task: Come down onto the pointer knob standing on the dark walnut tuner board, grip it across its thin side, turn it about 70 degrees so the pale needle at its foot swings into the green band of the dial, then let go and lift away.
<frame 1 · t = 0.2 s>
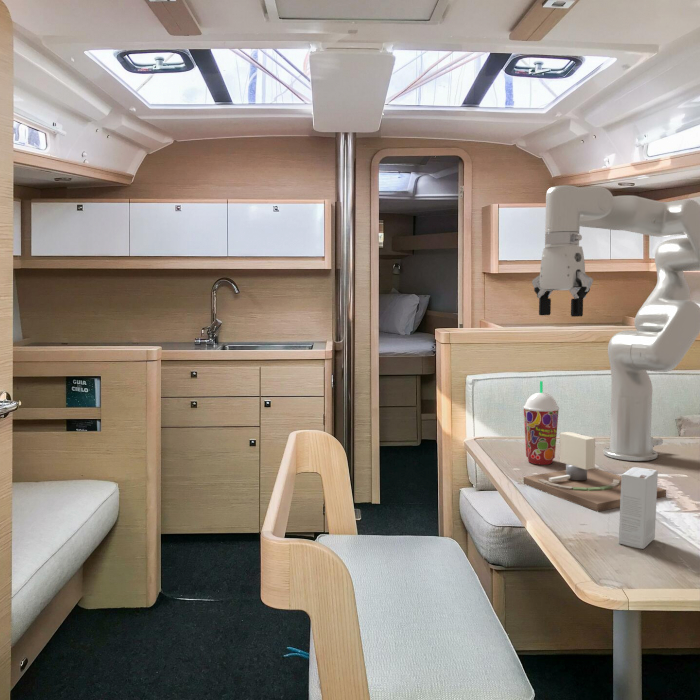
hand: (560, 315, 157), 36 cm above the table, tool pointing down, fingers open, 9 cm apart
tuner board: (592, 490, 143), on the table
smoothie: (540, 462, 166), on the table
skincare box: (637, 543, 113), on the table
pointer knob: (567, 458, 144), point 6 cm above the table, hinge at 0.0°
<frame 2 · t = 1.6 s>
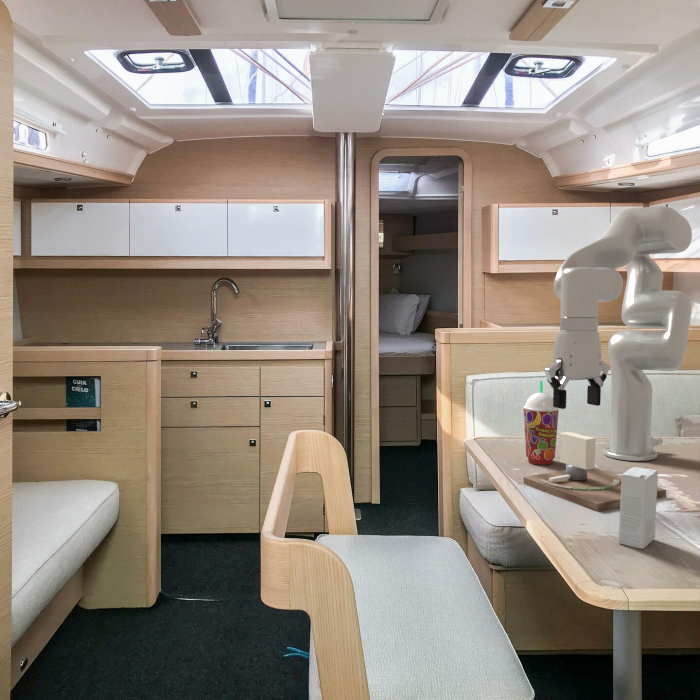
hand: (576, 406, 144), 17 cm above the table, tool pointing down, fingers open, 9 cm apart
nothing on the table moved.
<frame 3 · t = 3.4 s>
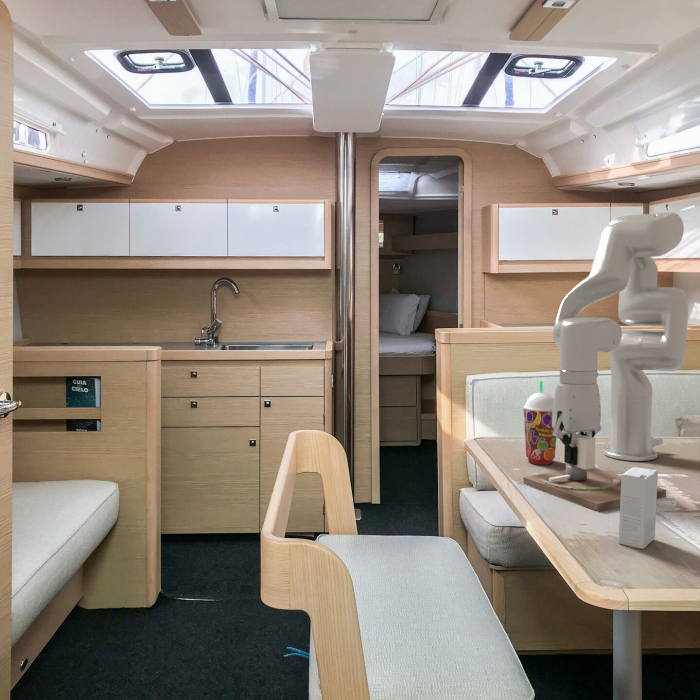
hand: (576, 462, 145), 5 cm above the table, tool pointing down, fingers closed on pointer knob, 2 cm apart
pointer knob: (567, 458, 144), point 6 cm above the table, hinge at 0.0°, touching gripper
everything else where it was.
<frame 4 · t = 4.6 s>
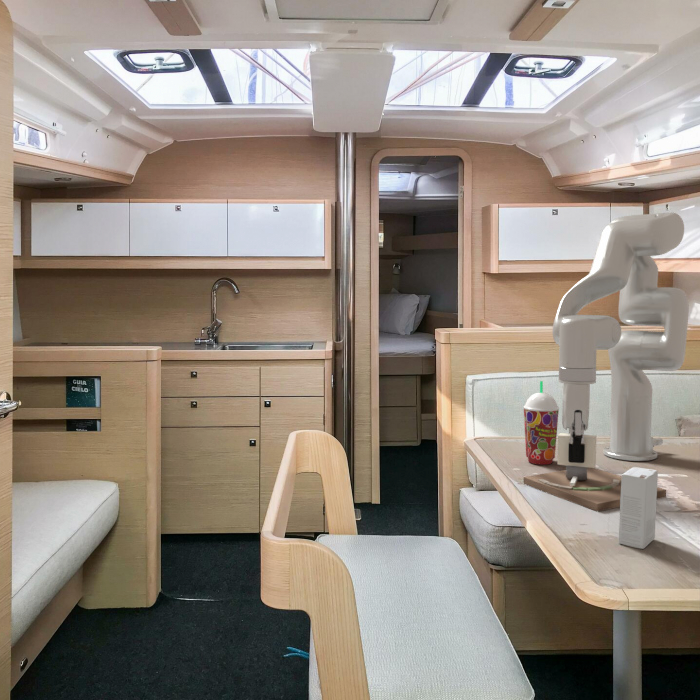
hand: (575, 459, 145), 6 cm above the table, tool pointing down, fingers closed on pointer knob, 3 cm apart
pointer knob: (575, 459, 143), point 6 cm above the table, hinge at 38.9°, touching gripper
everything else where it was.
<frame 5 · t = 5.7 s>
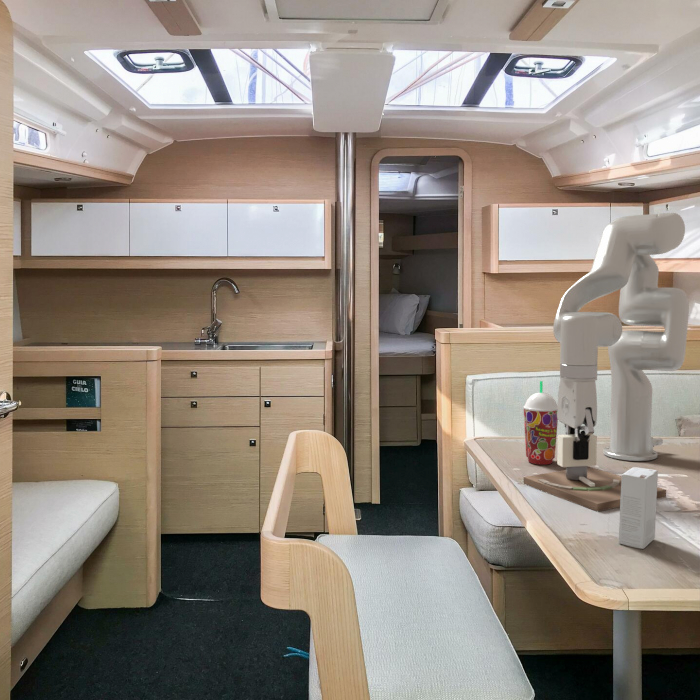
hand: (577, 456, 145), 6 cm above the table, tool pointing down, fingers closed on pointer knob, 2 cm apart
pointer knob: (582, 459, 143), point 6 cm above the table, hinge at 70.5°, touching gripper
everything else where it was.
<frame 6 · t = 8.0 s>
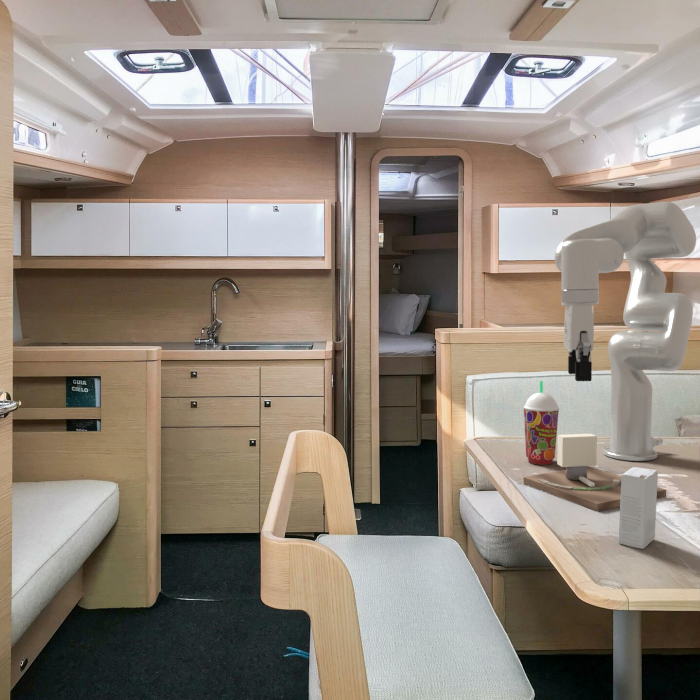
hand: (579, 377, 146), 23 cm above the table, tool pointing down, fingers open, 9 cm apart
pointer knob: (582, 459, 143), point 6 cm above the table, hinge at 70.3°
everything else where it was.
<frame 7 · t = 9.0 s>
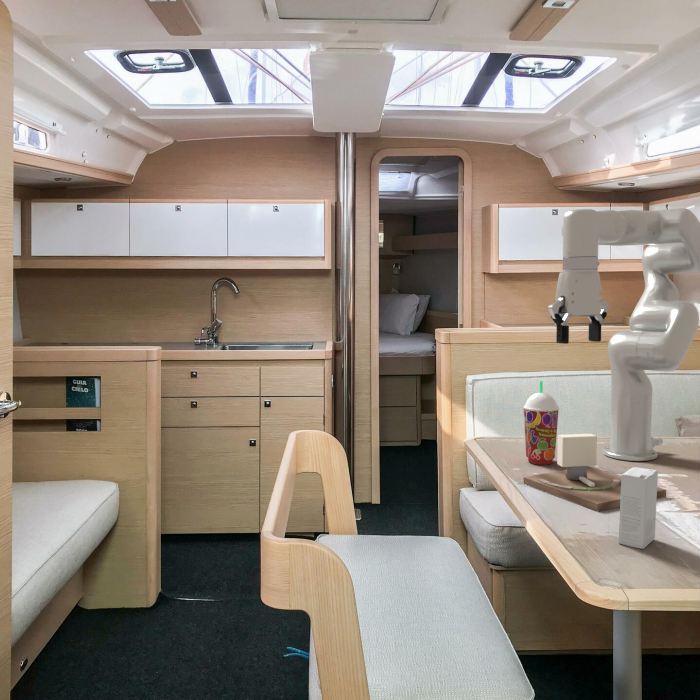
hand: (578, 342, 153), 30 cm above the table, tool pointing down, fingers open, 9 cm apart
nothing on the table moved.
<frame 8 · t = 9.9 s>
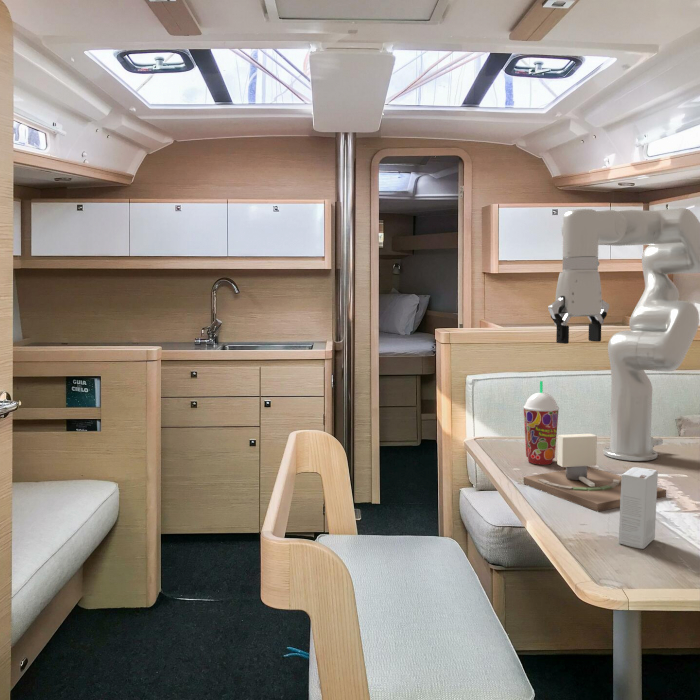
hand: (578, 342, 153), 30 cm above the table, tool pointing down, fingers open, 9 cm apart
nothing on the table moved.
at the end: pointer knob at +70° (first picture: +0°); the gripper is holding nothing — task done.
